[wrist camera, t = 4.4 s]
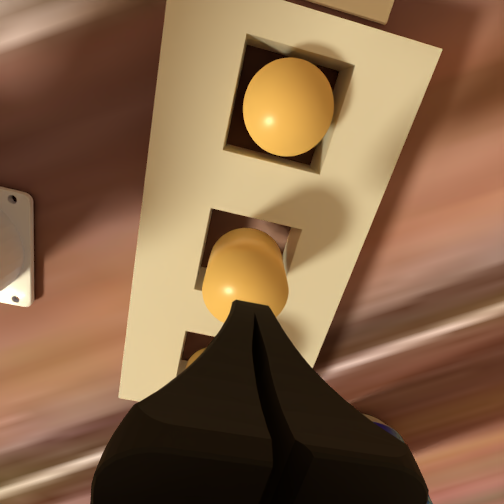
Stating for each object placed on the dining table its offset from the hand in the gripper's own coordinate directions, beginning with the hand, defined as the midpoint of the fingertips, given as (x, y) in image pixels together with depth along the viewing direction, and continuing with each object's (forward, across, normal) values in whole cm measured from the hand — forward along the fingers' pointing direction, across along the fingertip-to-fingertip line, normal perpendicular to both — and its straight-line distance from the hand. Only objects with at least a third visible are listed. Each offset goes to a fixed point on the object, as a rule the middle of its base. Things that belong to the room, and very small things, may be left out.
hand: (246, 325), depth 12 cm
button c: (+9, 0, -7) cm, 12 cm away
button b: (+7, 0, +1) cm, 7 cm away
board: (+10, 0, +1) cm, 10 cm away
